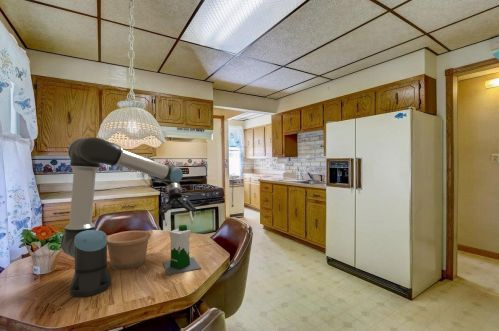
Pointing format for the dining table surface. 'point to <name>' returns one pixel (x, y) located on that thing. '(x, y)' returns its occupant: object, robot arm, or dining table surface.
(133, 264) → the pottery
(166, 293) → the dining table surface
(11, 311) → the dining table surface
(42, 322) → the dining table surface
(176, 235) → the soya milk
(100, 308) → the dining table surface
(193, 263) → the mat
